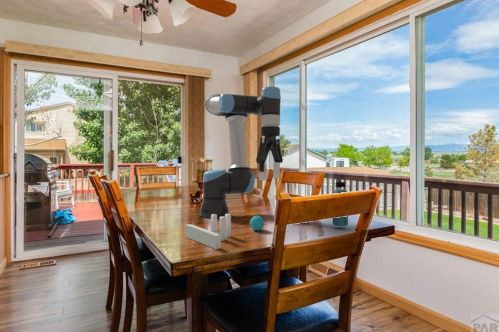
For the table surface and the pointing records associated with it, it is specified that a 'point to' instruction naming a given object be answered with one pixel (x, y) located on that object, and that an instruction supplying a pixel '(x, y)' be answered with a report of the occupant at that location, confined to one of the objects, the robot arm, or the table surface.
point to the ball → (257, 223)
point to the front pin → (228, 225)
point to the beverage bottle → (342, 220)
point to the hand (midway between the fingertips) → (269, 179)
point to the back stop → (203, 236)
